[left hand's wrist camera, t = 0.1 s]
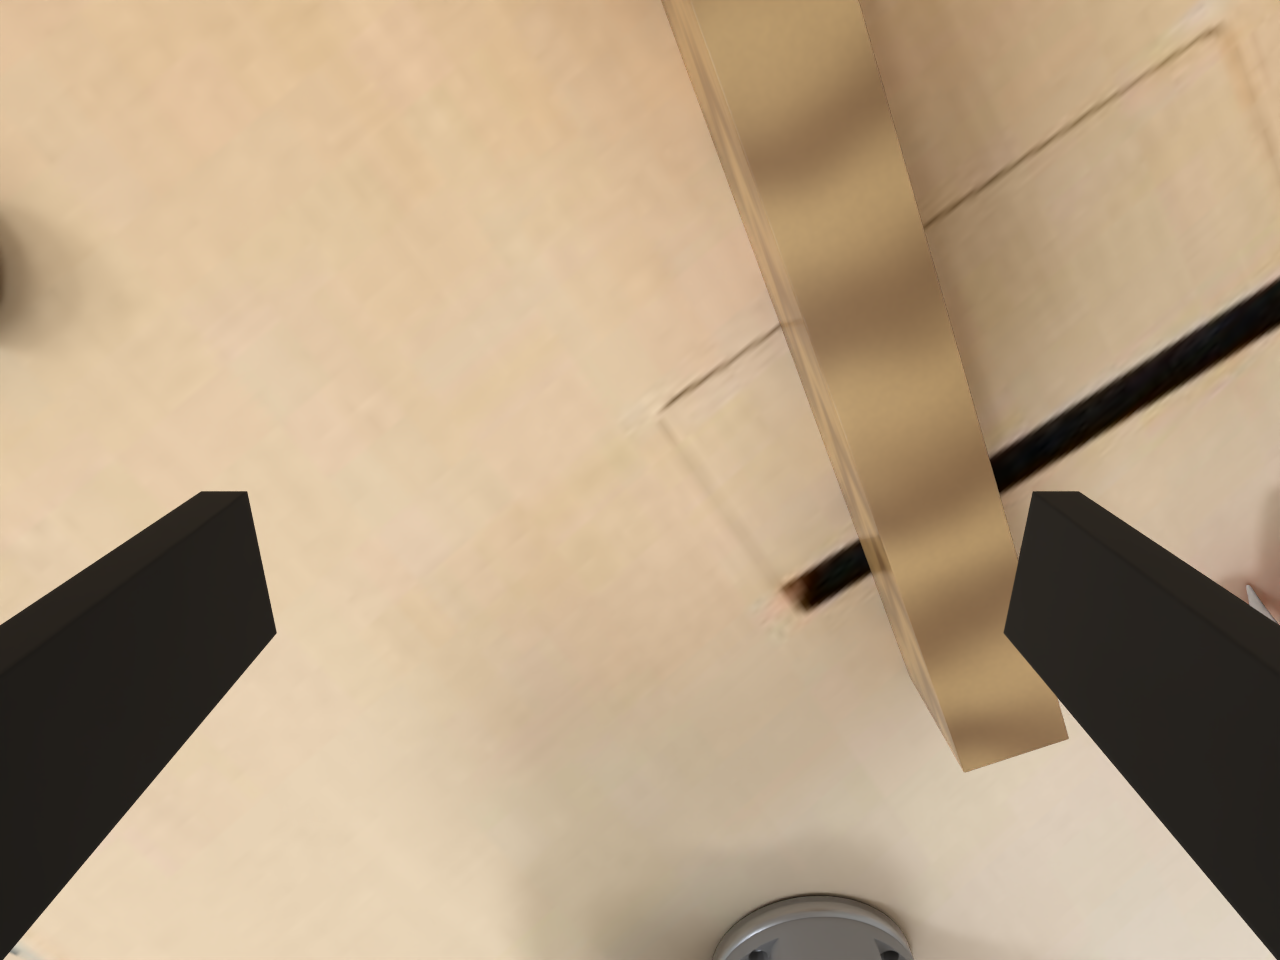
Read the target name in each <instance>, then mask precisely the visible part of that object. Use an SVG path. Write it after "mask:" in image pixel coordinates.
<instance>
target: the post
mask: <svg viewBox="0 0 1280 960" xmlns="http://www.w3.org/2000/svg"><path fill="white" fill-rule="evenodd" d="M661 1H662V4H663V6H664V9H665V12H666V15H667V17H668V20H669V23H670V25H671V28H672V31H673V34H674V36H675V39H676V42H677V45H678V47H679V50H680V53H681V55H682V58H683V61H684V64H685V66H686V69H687V72H688V74H689V77H690V80H691V83H692V85H693V88H694V91H695V93H696V96H697V99H698V102H699V104H700V107H701V110H702V112H703V115H704V118H705V121H706V123H707V126H708V129H709V132H710V134H711V137H712V140H713V142H714V145H715V148H716V151H717V153H718V156H719V159H720V161H721V164H722V167H723V170H724V172H725V175H726V178H727V180H728V183H729V186H730V189H731V191H732V194H733V197H734V200H735V202H736V205H737V208H738V210H739V213H740V216H741V219H742V221H743V224H744V227H745V229H746V232H747V235H748V238H749V240H750V243H751V246H752V248H753V251H754V254H755V257H756V259H757V262H758V265H759V268H760V270H761V273H762V276H763V278H764V281H765V284H766V287H767V289H768V292H769V295H770V297H771V300H772V303H773V306H774V308H775V311H776V314H777V316H778V319H779V322H780V325H781V327H782V330H783V333H784V335H785V338H786V341H787V344H788V346H789V349H790V352H791V355H792V357H793V360H794V363H795V365H796V368H797V371H798V374H799V376H800V379H801V382H802V384H803V387H804V390H805V393H806V395H807V398H808V401H809V403H810V406H811V409H812V412H813V414H814V417H815V420H816V423H817V425H818V428H819V431H820V433H821V436H822V439H823V442H824V444H825V447H826V450H827V452H828V455H829V458H830V461H831V463H832V466H833V469H834V471H835V474H836V477H837V480H838V482H839V485H840V488H841V491H842V493H843V496H844V499H845V501H846V504H847V507H848V510H849V512H850V515H851V518H852V520H853V523H854V526H855V529H856V531H857V534H858V537H859V539H860V542H861V545H862V548H863V550H864V553H865V556H866V558H867V561H868V564H869V567H870V569H871V572H872V575H873V578H874V580H875V583H876V586H877V588H878V591H879V594H880V597H881V599H882V602H883V605H884V607H885V610H886V613H887V616H888V618H889V621H890V624H891V626H892V629H893V632H894V635H895V637H896V640H897V643H898V646H899V648H900V651H901V654H902V656H903V659H904V662H905V665H906V667H907V670H908V673H909V675H910V678H911V680H912V681H913V683H914V685H915V687H916V688H917V690H918V692H919V694H920V695H921V697H922V699H923V701H924V703H925V704H926V706H927V708H928V710H929V711H930V713H931V715H932V717H933V718H934V720H935V722H936V724H937V726H938V727H939V729H940V731H941V733H942V734H943V736H944V738H945V740H946V741H947V743H948V745H949V747H950V748H951V750H952V752H953V754H954V756H955V757H956V759H957V761H958V763H959V764H960V766H961V768H962V770H963V771H964V772H968V771H971V770H974V769H977V768H981V767H984V766H987V765H990V764H993V763H996V762H999V761H1002V760H1005V759H1008V758H1011V757H1014V756H1017V755H1021V754H1024V753H1027V752H1030V751H1033V750H1036V749H1039V748H1042V747H1045V746H1048V745H1051V744H1054V743H1058V742H1061V741H1064V740H1067V739H1069V737H1068V734H1067V730H1066V727H1065V723H1064V720H1063V716H1062V713H1061V709H1060V706H1059V702H1058V699H1057V697H1056V695H1055V694H1054V693H1053V692H1052V691H1051V689H1050V688H1049V687H1048V686H1047V685H1046V683H1045V682H1044V681H1043V680H1042V679H1041V677H1040V676H1039V675H1038V674H1037V673H1036V671H1035V670H1034V669H1033V668H1032V667H1031V665H1030V664H1029V663H1028V662H1027V661H1026V660H1025V658H1024V657H1023V656H1022V655H1021V654H1020V652H1019V651H1018V650H1017V649H1016V648H1015V646H1014V645H1013V644H1012V643H1011V642H1010V640H1009V639H1008V638H1007V637H1006V636H1005V634H1004V633H1003V632H1004V628H1005V623H1006V618H1007V613H1008V608H1009V604H1010V599H1011V594H1012V589H1013V584H1014V580H1015V575H1016V570H1017V565H1018V558H1017V555H1016V551H1015V547H1014V544H1013V540H1012V537H1011V533H1010V530H1009V526H1008V523H1007V519H1006V516H1005V512H1004V509H1003V505H1002V502H1001V498H1000V495H999V491H998V488H997V484H996V481H995V477H994V474H993V470H992V467H991V463H990V460H989V456H988V453H987V449H986V446H985V442H984V439H983V435H982V432H981V428H980V425H979V421H978V418H977V414H976V411H975V407H974V404H973V400H972V396H971V393H970V389H969V386H968V382H967V379H966V375H965V372H964V368H963V365H962V361H961V358H960V354H959V351H958V347H957V344H956V340H955V337H954V333H953V330H952V326H951V323H950V319H949V316H948V312H947V309H946V305H945V302H944V298H943V295H942V291H941V288H940V284H939V281H938V277H937V274H936V270H935V267H934V263H933V260H932V256H931V252H930V249H929V245H928V242H927V238H926V235H925V231H924V228H923V224H922V221H921V217H920V214H919V210H918V207H917V203H916V200H915V196H914V193H913V189H912V186H911V182H910V179H909V175H908V172H907V168H906V165H905V161H904V158H903V154H902V151H901V147H900V144H899V140H898V137H897V133H896V130H895V126H894V123H893V119H892V116H891V112H890V108H889V105H888V101H887V98H886V94H885V91H884V87H883V84H882V80H881V77H880V73H879V70H878V66H877V63H876V59H875V56H874V52H873V49H872V45H871V42H870V38H869V35H868V31H867V28H866V24H865V21H864V17H863V14H862V10H861V7H860V3H859V0H661Z"/></svg>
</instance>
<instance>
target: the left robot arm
mask: <svg viewBox="0 0 1280 960" xmlns="http://www.w3.org/2000/svg"><path fill="white" fill-rule="evenodd" d="M276 633H277V632H276V628H275V623H274V618H273V613H272V608H271V604H270V599H269V594H268V589H267V584H266V580H265V575H264V570H263V565H262V560H261V556H260V551H259V546H258V541H257V536H256V532H255V527H254V522H253V517H252V512H251V508H250V503H249V498H248V493H247V491H201V492H200V493H198V494H197V495H195V496H194V497H192V498H191V499H189V500H188V501H186V502H185V503H183V504H182V505H180V506H179V507H177V508H176V509H174V510H173V511H171V512H170V513H168V514H167V515H165V516H164V517H162V518H161V519H159V520H158V521H156V522H155V523H153V524H152V525H150V526H149V527H147V528H146V529H144V530H143V531H141V532H140V533H138V534H137V535H135V536H134V537H132V538H131V539H129V540H128V541H126V542H125V543H123V544H122V545H120V546H119V547H117V548H116V549H114V550H113V551H111V552H110V553H108V554H107V555H105V556H104V557H102V558H101V559H99V560H98V561H96V562H95V563H93V564H92V565H90V566H89V567H87V568H86V569H84V570H83V571H81V572H80V573H78V574H77V575H75V576H74V577H72V578H71V579H69V580H68V581H66V582H65V583H63V584H62V585H60V586H59V587H57V588H56V589H54V590H53V591H51V592H50V593H48V594H47V595H45V596H44V597H42V598H41V599H39V600H38V601H36V602H35V603H33V604H32V605H30V606H29V607H27V608H26V609H24V610H23V611H21V612H20V613H18V614H17V615H15V616H14V617H12V618H11V619H9V620H8V621H6V622H5V623H3V624H2V625H0V960H3V959H4V958H5V957H6V956H7V954H8V953H9V952H10V951H11V950H12V948H13V947H14V946H15V945H16V944H17V942H18V941H19V940H20V939H21V938H22V936H23V935H24V934H25V933H26V932H27V930H28V929H29V928H30V927H31V926H32V925H33V923H34V922H35V921H36V920H37V919H38V917H39V916H40V915H41V914H42V913H43V911H44V910H45V909H46V908H47V907H48V905H49V904H50V903H51V902H52V901H53V899H54V898H55V897H56V896H57V895H58V893H59V892H60V891H61V890H62V889H63V888H64V886H65V885H66V884H67V883H68V882H69V880H70V879H71V878H72V877H73V876H74V874H75V873H76V872H77V871H78V870H79V868H80V867H81V866H82V865H83V864H84V862H85V861H86V860H87V859H88V858H89V856H90V855H91V854H92V853H93V852H94V850H95V849H96V848H97V847H98V846H99V845H100V843H101V842H102V841H103V840H104V839H105V837H106V836H107V835H108V834H109V833H110V831H111V830H112V829H113V828H114V827H115V825H116V824H117V823H118V822H119V821H120V819H121V818H122V817H123V816H124V815H125V813H126V812H127V811H128V810H129V809H130V808H131V806H132V805H133V804H134V803H135V802H136V800H137V799H138V798H139V797H140V796H141V794H142V793H143V792H144V791H145V790H146V788H147V787H148V786H149V785H150V784H151V782H152V781H153V780H154V779H155V778H156V776H157V775H158V774H159V773H160V772H161V771H162V769H163V768H164V767H165V766H166V765H167V763H168V762H169V761H170V760H171V759H172V757H173V756H174V755H175V754H176V753H177V751H178V750H179V749H180V748H181V747H182V745H183V744H184V743H185V742H186V741H187V739H188V738H189V737H190V736H191V735H192V734H193V732H194V731H195V730H196V729H197V728H198V726H199V725H200V724H201V723H202V722H203V720H204V719H205V718H206V717H207V716H208V714H209V713H210V712H211V711H212V710H213V708H214V707H215V706H216V705H217V704H218V702H219V701H220V700H221V699H222V698H223V697H224V695H225V694H226V693H227V692H228V691H229V689H230V688H231V687H232V686H233V685H234V683H235V682H236V681H237V680H238V679H239V677H240V676H241V675H242V674H243V673H244V671H245V670H246V669H247V668H248V667H249V665H250V664H251V663H252V662H253V661H254V660H255V658H256V657H257V656H258V655H259V654H260V652H261V651H262V650H263V649H264V648H265V646H266V645H267V644H268V643H269V642H270V640H271V639H272V638H273V637H274V636H275V634H276ZM1003 633H1004V634H1005V636H1006V637H1007V638H1008V639H1009V640H1010V642H1011V643H1012V644H1013V645H1014V646H1015V648H1016V649H1017V650H1018V651H1019V652H1020V654H1021V655H1022V656H1023V657H1024V658H1025V660H1026V661H1027V662H1028V663H1029V664H1030V665H1031V667H1032V668H1033V669H1034V670H1035V671H1036V673H1037V674H1038V675H1039V676H1040V677H1041V679H1042V680H1043V681H1044V682H1045V683H1046V685H1047V686H1048V687H1049V688H1050V689H1051V691H1052V692H1053V693H1054V694H1055V695H1056V697H1057V698H1058V699H1059V700H1060V701H1061V702H1062V704H1063V705H1064V706H1065V707H1066V708H1067V710H1068V711H1069V712H1070V713H1071V714H1072V716H1073V717H1074V718H1075V719H1076V720H1077V722H1078V723H1079V724H1080V725H1081V726H1082V728H1083V729H1084V730H1085V731H1086V732H1087V734H1088V735H1089V736H1090V737H1091V738H1092V739H1093V741H1094V742H1095V743H1096V744H1097V745H1098V747H1099V748H1100V749H1101V750H1102V751H1103V753H1104V754H1105V755H1106V756H1107V757H1108V759H1109V760H1110V761H1111V762H1112V763H1113V765H1114V766H1115V767H1116V768H1117V769H1118V771H1119V772H1120V773H1121V774H1122V775H1123V776H1124V778H1125V779H1126V780H1127V781H1128V782H1129V784H1130V785H1131V786H1132V787H1133V788H1134V790H1135V791H1136V792H1137V793H1138V794H1139V796H1140V797H1141V798H1142V799H1143V800H1144V802H1145V803H1146V804H1147V805H1148V806H1149V808H1150V809H1151V810H1152V811H1153V812H1154V814H1155V815H1156V816H1157V817H1158V818H1159V819H1160V821H1161V822H1162V823H1163V824H1164V825H1165V827H1166V828H1167V829H1168V830H1169V831H1170V833H1171V834H1172V835H1173V836H1174V837H1175V839H1176V840H1177V841H1178V842H1179V843H1180V845H1181V846H1182V847H1183V848H1184V849H1185V851H1186V852H1187V853H1188V854H1189V855H1190V856H1191V858H1192V859H1193V860H1194V861H1195V862H1196V864H1197V865H1198V866H1199V867H1200V868H1201V870H1202V871H1203V872H1204V873H1205V874H1206V876H1207V877H1208V878H1209V879H1210V880H1211V882H1212V883H1213V884H1214V885H1215V886H1216V888H1217V889H1218V890H1219V891H1220V892H1221V893H1222V895H1223V896H1224V897H1225V898H1226V899H1227V901H1228V902H1229V903H1230V904H1231V905H1232V907H1233V908H1234V909H1235V910H1236V911H1237V913H1238V914H1239V915H1240V916H1241V917H1242V919H1243V920H1244V921H1245V922H1246V923H1247V925H1248V926H1249V927H1250V928H1251V929H1252V930H1253V932H1254V933H1255V934H1256V935H1257V936H1258V938H1259V939H1260V940H1261V941H1262V942H1263V944H1264V945H1265V946H1266V947H1267V948H1268V950H1269V951H1270V952H1271V953H1272V954H1273V956H1274V957H1275V958H1276V959H1277V960H1280V625H1278V624H1277V623H1275V622H1274V621H1272V620H1271V619H1269V618H1268V617H1266V616H1265V615H1263V614H1262V613H1260V612H1259V611H1257V610H1256V609H1254V608H1253V607H1251V606H1250V605H1248V604H1247V603H1245V602H1244V601H1242V600H1241V599H1239V598H1238V597H1236V596H1235V595H1233V594H1232V593H1230V592H1229V591H1227V590H1226V589H1224V588H1223V587H1221V586H1220V585H1218V584H1217V583H1215V582H1214V581H1212V580H1211V579H1209V578H1208V577H1206V576H1205V575H1203V574H1202V573H1200V572H1199V571H1197V570H1196V569H1194V568H1193V567H1191V566H1190V565H1188V564H1187V563H1185V562H1184V561H1182V560H1181V559H1179V558H1178V557H1176V556H1175V555H1173V554H1172V553H1170V552H1169V551H1167V550H1166V549H1164V548H1163V547H1161V546H1160V545H1158V544H1157V543H1155V542H1154V541H1152V540H1151V539H1149V538H1148V537H1146V536H1145V535H1143V534H1142V533H1140V532H1139V531H1137V530H1136V529H1134V528H1133V527H1131V526H1130V525H1128V524H1127V523H1125V522H1124V521H1122V520H1121V519H1119V518H1118V517H1116V516H1115V515H1113V514H1112V513H1110V512H1109V511H1107V510H1106V509H1104V508H1103V507H1101V506H1100V505H1098V504H1097V503H1095V502H1094V501H1092V500H1091V499H1089V498H1088V497H1086V496H1085V495H1083V494H1082V493H1080V492H1079V491H1033V493H1032V498H1031V503H1030V508H1029V512H1028V517H1027V522H1026V527H1025V532H1024V536H1023V541H1022V546H1021V551H1020V556H1019V560H1018V565H1017V570H1016V575H1015V580H1014V584H1013V589H1012V594H1011V599H1010V604H1009V608H1008V613H1007V618H1006V623H1005V628H1004V632H1003ZM712 960H914V959H913V956H912V953H911V950H910V947H909V945H908V942H907V940H906V938H905V936H904V934H903V932H902V931H901V929H900V928H899V927H898V926H897V925H896V923H894V922H893V921H892V920H891V919H890V918H889V917H888V916H886V915H885V914H883V913H882V912H880V911H879V910H877V909H875V908H873V907H871V906H869V905H866V904H864V903H861V902H858V901H854V900H851V899H846V898H840V897H832V896H806V897H798V898H792V899H787V900H783V901H779V902H776V903H773V904H770V905H768V906H765V907H763V908H760V909H758V910H756V911H754V912H752V913H751V914H749V915H748V916H746V917H744V918H743V919H742V920H740V921H739V922H738V923H736V924H735V925H734V926H733V927H732V928H731V929H730V930H729V931H728V932H727V933H726V934H725V935H724V937H723V938H722V940H721V941H720V943H719V944H718V946H717V948H716V950H715V953H714V955H713V959H712Z"/></svg>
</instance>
